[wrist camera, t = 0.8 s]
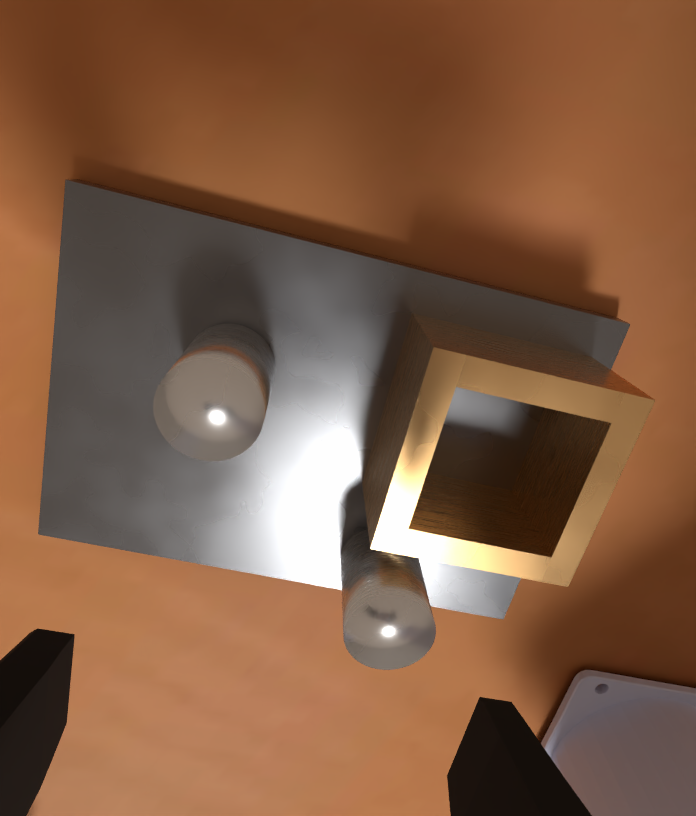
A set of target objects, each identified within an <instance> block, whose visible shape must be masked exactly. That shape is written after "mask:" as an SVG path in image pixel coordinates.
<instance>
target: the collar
mask: <svg viewBox="0 0 696 816" xmlns="http://www.w3.org/2000/svg"><path fill="white" fill-rule="evenodd" d="M456 387H458V388H463V389H467V390H471V391H476V392H480V393H484V394H489V395H493V396H497V397H502V398H506V399H510V400H514V401H519V402H523V403H527V404H532V405H536V406H540V407H545V409H544V411H543V414H542V416H541V419H540V421H539V424H538V426H537V429H536V431H535V434H534V436H533V439H532V441H531V444H530V446H529V449H528V451H527V454H526V456H525V459H524V461H523V464H522V466H521V469H520V471H519V474H518V476H517V479H516V481H515V484H514V486H513V489H512V491H511V490H507V489H502V488H497V487H493V486H488V485H483V484H478V483H474V482H469V481H464V480H460V479H455V478H450V477H445V476H441V475H436V474H431V473H427V472H428V469H429V466H430V463H431V460H432V457H433V454H434V451H435V448H436V445H437V442H438V439H439V436H440V433H441V430H442V427H443V424H444V421H445V418H446V415H447V412H448V409H449V406H450V403H451V400H452V397H453V394H454V391H455V388H456ZM654 402H655V400H654V399H653V398H651V397H650V396H648V395H647V394H645V393H644V392H643V391H641V390H640V389H638V388H637V387H635V386H634V385H632V384H631V383H629V382H628V381H626V380H625V379H623V378H622V377H620V376H619V375H618V374H616V373H615V372H613V371H612V370H610V369H609V368H607V367H606V366H604V365H603V364H601V363H600V362H598V361H597V360H596V359H594V358H593V357H589V356H585V355H581V354H577V353H573V352H569V351H565V350H561V349H556V348H552V347H548V346H544V345H540V344H536V343H532V342H528V341H524V340H520V339H516V338H512V337H508V336H504V335H500V334H496V333H492V332H487V331H483V330H479V329H475V328H471V327H467V326H463V325H459V324H455V323H451V322H447V321H443V320H439V319H435V318H431V317H427V316H423V315H418V314H414V313H412V315H411V318H410V321H409V325H408V328H407V332H406V335H405V338H404V342H403V345H402V349H401V352H400V355H399V359H398V362H397V366H396V369H395V372H394V376H393V379H392V382H391V386H390V389H389V393H388V396H387V399H386V403H385V406H384V410H383V413H382V416H381V420H380V423H379V427H378V430H377V433H376V437H375V440H374V444H373V447H372V450H371V454H370V457H369V461H368V464H367V467H366V471H365V474H364V478H363V481H362V485H363V494H364V502H365V510H366V518H367V526H368V534H369V542H370V549H374V550H379V551H384V552H390V553H395V554H400V555H405V556H410V557H415V558H421V559H426V560H431V561H436V562H441V563H447V564H452V565H457V566H462V567H467V568H472V569H478V570H483V571H488V572H493V573H498V574H504V575H509V576H514V577H519V578H524V579H529V580H535V581H540V582H545V583H550V584H555V585H561V586H566V587H568V586H569V584H570V582H571V580H572V577H573V575H574V573H575V571H576V569H577V567H578V565H579V563H580V560H581V558H582V556H583V554H584V552H585V550H586V548H587V545H588V543H589V541H590V539H591V537H592V535H593V533H594V530H595V528H596V526H597V524H598V522H599V520H600V518H601V516H602V513H603V511H604V509H605V507H606V505H607V503H608V501H609V498H610V496H611V494H612V492H613V490H614V488H615V486H616V483H617V481H618V479H619V477H620V475H621V473H622V471H623V469H624V466H625V464H626V462H627V460H628V458H629V456H630V454H631V451H632V449H633V447H634V445H635V443H636V441H637V439H638V436H639V434H640V432H641V430H642V428H643V426H644V424H645V422H646V419H647V417H648V415H649V413H650V411H651V409H652V407H653V404H654Z"/></svg>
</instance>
